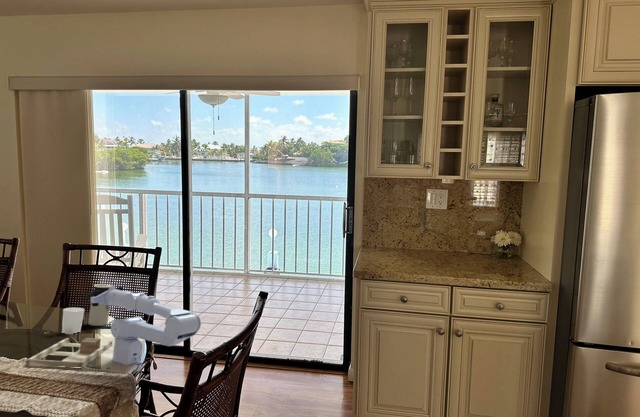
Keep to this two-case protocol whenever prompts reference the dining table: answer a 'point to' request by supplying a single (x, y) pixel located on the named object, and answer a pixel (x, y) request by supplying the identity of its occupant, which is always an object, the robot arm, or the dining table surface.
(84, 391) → the dining table surface
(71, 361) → the white compartment tray
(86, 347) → the block
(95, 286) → the travel mug
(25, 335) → the dining table surface
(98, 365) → the dining table surface
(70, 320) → the white cup
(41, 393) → the dining table surface
